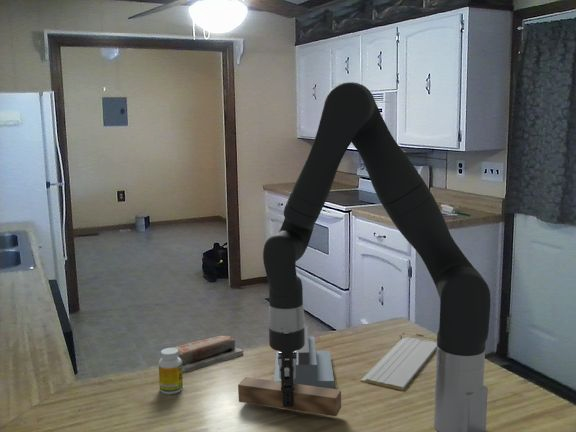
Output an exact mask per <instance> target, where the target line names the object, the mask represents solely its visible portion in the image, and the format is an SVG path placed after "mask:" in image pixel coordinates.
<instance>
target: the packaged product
mask: <svg viewBox="0 0 576 432" xmlns="http://www.w3.org/2000/svg"><path fill="white" fill-rule="evenodd" d="M173 348H176V349H178V351H179V355H178V357H179V358H180V359H181V360H182V373H186V372H189V371H193V370H195V369H196V370H197V369H199V368H203V367H204V368H205V367H207V366H210V365H213V364H217V363H221V362H224V361H227V360H231V359H234V358H237V357H240V356H243V355H244V349H241V348H238V347H236V341H235V339H234V338H232V336H230V335H218V336H212V337H209V338H206V339H200V340H196V341H192V342H189V343H185V344H182V345H181V344H180V345H177V346H174V347H173Z"/></svg>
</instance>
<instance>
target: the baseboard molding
mask: <svg viewBox="0 0 576 432" xmlns="http://www.w3.org/2000/svg"><path fill="white" fill-rule="evenodd" d="M402 335H405V332H403V333H402V334H400V339H399V341H398V342H397V343H396V344H395V345H394V346H393V347H392V348H391V349H390V350H389V351H388V352H387V353H386V354H385V355H384V356H383V357H382V358H381V359H380V360H379V361H378V362H377V363H376V364H375V365H374V366H373V367H372V368H371V369H370V370H369V371H368V372H367V373H366V374H365V375H364V377H362V378H361V379H360V382H363V383H367V384H371V385H376V386H382V387H385V388H389V389H394V390H398V391H403V390H405V388H406V387H407V386H408V384H409V383H410V382H411V381H412V379H414V377H415V375H417V374H418V372H419V371H420V370H421V368H422V367H423V366H424V365H425V363H426V362H427V361H428V359H429V358H430V357H431V356H432V354H433V353H434V352H435V351H437V338H436V339H435V338H434V340H436V341H433V340H432V338H431V337H430V338H429V339H430V340H427V339H421V337H422V338H427V337H426V336H425V337H424V335H423V334H417V333H416V334H415V335H414V334H412V336H413V337H410V334H409V333H406V335H408V336H407V337H405V338H404V337H402ZM415 336H416V337H420V339H419V338H416V337H415Z"/></svg>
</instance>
